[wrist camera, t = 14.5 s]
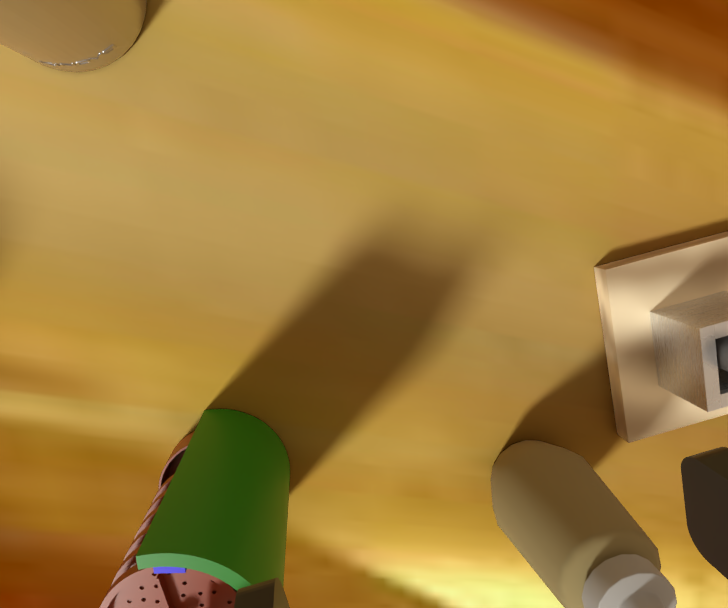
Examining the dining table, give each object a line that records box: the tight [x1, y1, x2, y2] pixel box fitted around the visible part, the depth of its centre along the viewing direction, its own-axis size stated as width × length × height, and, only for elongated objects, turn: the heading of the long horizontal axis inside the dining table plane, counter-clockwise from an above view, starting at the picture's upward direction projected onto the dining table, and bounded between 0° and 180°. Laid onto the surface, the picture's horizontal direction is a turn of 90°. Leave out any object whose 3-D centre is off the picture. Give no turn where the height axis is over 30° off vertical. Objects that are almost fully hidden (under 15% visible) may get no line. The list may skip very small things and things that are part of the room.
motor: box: [100, 409, 290, 608], centre depth 29 cm, size 10×9×20 cm
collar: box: [650, 291, 728, 412], centre depth 37 cm, size 6×6×5 cm
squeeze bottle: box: [491, 440, 677, 608], centre depth 33 cm, size 8×8×18 cm
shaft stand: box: [594, 231, 728, 443], centre depth 37 cm, size 14×12×9 cm
